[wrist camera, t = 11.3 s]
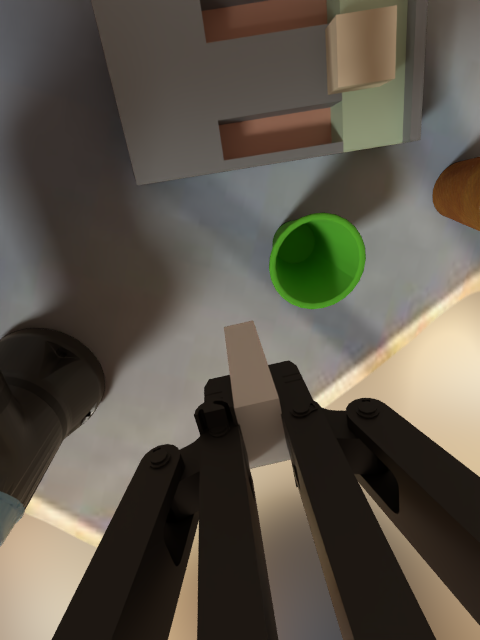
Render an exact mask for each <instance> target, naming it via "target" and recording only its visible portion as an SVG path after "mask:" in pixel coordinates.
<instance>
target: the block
mask: <svg viewBox="0 0 480 640" xmlns="http://www.w3.org/2000/svg"><path fill="white" fill-rule="evenodd" d="M396 29H397V5H395V6H389V7H383V8H376V9H370V10H364V11H358V12H351V13H345V14H339V15H336V16H335V17H334V18H333V20H332V21H331V22H330V24H329V25H328V26H327V28H326V29H325V36H326V62H327V88H328V95H330V94H337V93H343V92H349V91H355V90H362V89H368V88H374V87H380V86H382V85H384V84H386V83H388V82H389V81H391V80H393V79H395V65H396Z"/></svg>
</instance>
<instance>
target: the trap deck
mask: <svg viewBox="0 0 480 640" xmlns="http://www.w3.org/2000/svg"><path fill="white" fill-rule="evenodd" d="M91 3H92V7H93V11H94V15H95V19H96V23H97V27H98V31H99V35H100V39H101V43H102V47H103V51H104V55H105V59H106V63H107V67H108V71H109V75H110V79H111V83H112V87H113V91H114V95H115V99H116V103H117V107H118V111H119V115H120V119H121V123H122V127H123V131H124V135H125V139H126V143H127V147H128V151H129V155H130V159H131V163H132V167H133V171H134V175H135V179H136V184H137V185H144V184H150V183H156V182H163V181H169V180H175V179H181V178H188V177H194V176H200V175H206V174H213V173H219V172H225V171H231V170H238V169H244V168H250V167H256V166H263V165H269V164H275V163H281V162H287V161H294V160H300V159H306V158H312V157H319V156H325V155H331V154H337V153H344V152H350V151H356V150H362V149H369V148H375V147H381V146H387V145H394V144H400V143H406V142H412V141H418V140H420V137H421V120H422V102H423V84H424V66H425V48H426V30H427V13H428V0H91ZM395 5H397V29H396V65H395V79H393V80H391V81H389V82H388V83H386V84H384V85H382V86H380V87H374V88H368V89H362V90H355V91H349V92H343V93H337V94H330V95H328V88H327V62H326V36H325V29H326V28H327V26H328V25H329V24H330V22H331V21H332V20H333V18H334V17H335V16H336V15H339V14H345V13H351V12H358V11H364V10H370V9H376V8H383V7H389V6H395Z"/></svg>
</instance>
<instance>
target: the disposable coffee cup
mask: <svg viewBox="0 0 480 640" xmlns="http://www.w3.org/2000/svg"><path fill="white" fill-rule="evenodd" d="M433 203H434V206H435V208H436V210H437V211H438V212H439V213H440V214H441V215H443V216H445V217H448V218H450V219H453V220H455V221H457V222H460V223H462V224H464V225H466V226H469V227H471V228H473V229H476V230H478V231H480V157H477V158H472V159H468V160H464V161H460V162H456V163H454V164H452V165H451V166H449V167H448V168H446V169H445V170H444V171H443V172H442V173H441V175H440V176H439V178H438V179H437V181H436V183H435V186H434V189H433Z"/></svg>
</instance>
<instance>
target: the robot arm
mask: <svg viewBox="0 0 480 640" xmlns="http://www.w3.org/2000/svg"><path fill="white" fill-rule="evenodd" d="M224 332H225V339H226V347H227V355H228V363H229V371H230V375H227V376H222V377H218V378H214V379H209V381H208V382H207V384H206V386H205V387H204V396H205V397H204V403H203V404H201V405H200V406H199V407H198V408H197V409H196V411H195V414H194V417H195V420H196V423H197V426H198V429H199V432H200V437H199V438H198V439H197V440H196V441H195V442H193V443H192V444H190V445H188V446H186V447H184V448H182V449H180V450H179V449H178V448H177V447H176V446H174V445H170V444H165V445H160V446H157V447H155V448H153V449H151V450H150V451H149V452H148V453H146V454H145V456H144V457H143V458H142V460H141V462H140V464H139V466H138V468H137V470H136V472H135V474H134V476H133V478H132V480H131V482H130V484H129V486H128V488H127V490H126V492H125V494H124V496H123V498H122V500H121V502H120V504H119V506H118V508H117V510H116V512H115V514H114V516H113V518H112V520H111V522H110V524H109V526H108V528H107V530H106V532H105V534H104V536H103V538H102V540H101V542H100V544H99V546H98V548H97V550H96V552H95V554H94V556H93V558H92V560H91V562H90V564H89V566H88V568H87V570H86V572H85V574H84V576H83V578H82V580H81V582H80V584H79V586H78V588H77V590H76V592H75V594H74V596H73V598H72V600H71V602H70V604H69V606H68V608H67V610H66V612H65V614H64V616H63V618H62V620H61V622H60V624H59V626H58V628H57V630H56V632H55V634H54V636H53V638H52V640H168V637H169V633H170V629H171V625H172V621H173V617H174V613H175V610H176V606H177V602H178V598H179V594H180V590H181V587H182V582H183V579H184V575H185V571H186V567H187V563H188V559H189V556H190V552H191V548H192V544H193V540H194V536H195V532H196V529H197V524H198V521H199V556H198V557H199V558H198V559H199V560H198V626H197V628H198V629H197V640H278V635H277V628H276V622H275V616H274V610H273V603H272V597H271V591H270V585H269V579H268V573H267V566H266V560H265V554H264V548H263V541H262V535H261V529H260V523H259V516H258V511H257V504H256V498H255V491H254V485H253V480H252V476H251V472H250V469H252V468H256V467H260V466H265V465H269V464H273V463H278V462H282V461H287V460H291V461H292V467H293V472H294V477H295V482H296V487H298V489H299V492H300V495H301V499H302V502H303V506H304V509H305V512H306V516H307V519H308V522H309V526H310V529H311V532H312V536H313V539H314V543H315V546H316V549H317V553H318V556H319V559H320V563H321V566H322V570H323V573H324V576H325V580H326V583H327V587H328V590H329V594H330V597H331V600H332V604H333V607H334V610H335V613H336V617H337V621H338V624H339V627H340V630H341V634H342V638H343V640H436V638H435V636H434V634H433V632H432V630H431V628H430V626H429V624H428V622H427V620H426V618H425V616H424V614H423V612H422V610H421V608H420V606H419V604H418V602H417V600H416V598H415V596H414V594H413V592H412V590H411V588H410V586H409V584H408V582H407V580H406V578H405V576H404V574H403V572H402V570H401V568H400V566H399V564H398V562H397V560H396V557H395V555H394V554H393V551H392V550H391V547H390V545H389V543H388V541H387V539H386V537H385V535H384V533H383V531H382V530H381V527H380V525H379V523H378V521H377V519H376V517H375V515H374V514H373V511H372V509H371V507H370V505H369V503H368V501H367V499H366V497H365V495H364V493H363V491H362V489H361V487H360V485H359V483H360V484H361V485H362V487H363V488H364V489H365V490H366V491H367V493H368V494H369V495H370V496H371V497H372V498H373V500H374V501H375V502H376V503H377V504H378V506H379V507H380V508H381V509H382V510H383V512H384V513H385V514H386V515H387V516H388V517H389V519H390V520H391V521H392V522H393V523H394V525H395V526H396V527H397V528H398V529H399V530H400V532H401V533H402V534H403V535H404V536H405V538H406V539H407V540H408V541H409V542H410V543H411V545H412V546H413V547H414V548H415V549H416V550H417V552H418V553H419V554H420V555H421V557H422V558H423V559H424V560H425V561H426V562H427V564H428V565H429V566H430V567H431V568H432V569H433V571H434V572H435V573H436V574H437V575H438V577H440V579H441V580H442V581H443V582H444V584H445V585H446V586H447V587H448V588H449V590H450V591H451V592H452V593H453V594H454V596H455V597H456V598H457V599H458V600H459V601H460V603H461V604H462V605H463V606H464V607H465V609H466V610H467V611H468V612H469V613H470V614H471V616H472V617H473V618H474V619H475V620H476V622H477V623H478V624H479V625H480V477H479V476H478V475H476V474H475V473H474V472H472V471H471V470H470V469H469V468H467V467H466V466H465V465H463V464H462V463H461V462H460V461H458V460H457V459H456V458H454V457H453V456H452V455H451V454H449V453H448V452H447V451H445V450H444V449H443V448H441V447H440V446H439V445H438V444H436V443H435V442H434V441H432V440H431V439H430V438H429V437H427V436H426V435H425V434H423V433H422V432H421V431H419V430H418V429H417V428H416V427H414V426H413V425H412V424H411V423H409V422H408V421H407V420H405V419H404V418H403V417H401V416H400V415H399V414H398V413H396V412H395V411H394V410H392V409H391V408H390V407H389V406H387V405H386V404H385V403H383V402H381V401H379V400H376V399H371V398H360V399H357V400H354V401H352V402H351V403H349V405H348V406H347V408H346V411H335V410H327V409H324V408H322V407H321V406H320V405H319V404H318V403H317V402H315V401H313V399H312V397H311V395H310V392H309V390H308V388H307V386H306V384H305V382H304V380H303V378H302V376H301V374H300V372H299V370H298V368H297V366H296V365H295V364H293V363H292V362H290V361H284V362H280V363H276V364H271V365H268V364H267V361H266V358H265V355H264V352H263V349H262V346H261V343H260V340H259V337H258V334H257V331H256V328H255V325H254V322H253V321H249V322H244V323H240V324H235V325H231V326H227V327H224ZM104 389H105V379H104V374H103V370H102V368H101V366H100V364H99V362H98V360H97V359H96V357H95V356H94V355H93V353H92V352H91V351H90V350H89V349H88V348H87V347H86V346H84V345H83V344H82V343H80V342H79V341H78V340H76V339H74V338H72V337H71V336H68V335H66V334H64V333H61V332H58V331H54V330H50V329H43V328H30V329H23V330H19V331H16V332H13V333H11V334H9V335H7V336H5V337H4V338H2V339H1V340H0V546H1V545H2V543H3V542H4V541H5V539H6V537H7V536H8V534H9V533H10V531H11V530H12V528H13V526H14V525H15V524H16V523H17V522H18V521H19V520H20V519H21V518H22V516H23V514H24V512H25V509H26V507H27V505H28V504H29V502H30V500H31V498H32V496H33V494H34V493H35V491H36V489H37V487H38V485H39V483H40V482H41V480H42V478H43V476H44V474H45V472H46V471H47V469H48V467H49V465H50V463H51V462H52V460H53V458H54V456H55V454H56V452H57V451H58V449H59V447H60V445H61V443H62V441H63V440H64V439H65V438H66V437H67V436H69V435H70V434H71V433H72V432H74V431H75V430H76V429H77V428H79V427H80V426H81V425H82V424H84V423H85V422H86V421H87V420H88V419H89V418H90V417H91V416H92V415H93V413H94V412H95V411H96V409H97V407H98V405H99V403H100V401H101V399H102V397H103V394H104ZM358 482H359V483H358Z"/></svg>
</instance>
